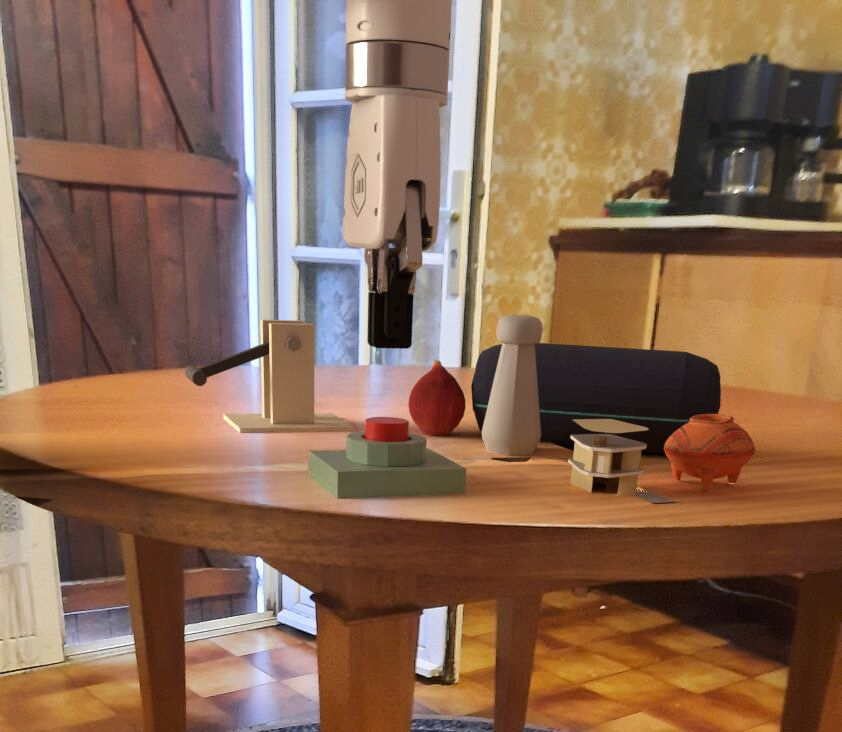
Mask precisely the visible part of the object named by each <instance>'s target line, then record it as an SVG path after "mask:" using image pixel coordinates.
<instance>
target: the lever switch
mask: <svg viewBox="0 0 842 732" xmlns="http://www.w3.org/2000/svg"><path fill="white" fill-rule="evenodd" d="M266 355H269V342H266V343H264V344H261V343H260V344H259V345H255V346H253V347H251V348H248V349H245V350H242V351H239V352H237V353H234V354H231V355H229V356H226V357H224V358H220V359H218V360H216V361H213V362H211V363H210V362H209V363H207V364H205V365H202V366H199V367H197V366H196V365H194V364H188V365H187V366H186V367H185V369H184V376H185V377H186V378H187V379H188V380H189V381H190V382H192V383H193V384H194V385H195V386H197V387H203V386H205V385H206V384H207V381H208V378H210V377H213V376H215V375H218V374H221V373H223V372H226V371H229V370H231V369H234V368H236V367H239V366H242V365H244V364H247V363H250V362H252V361H255V360H258V359H261V357H263V356H266Z"/></svg>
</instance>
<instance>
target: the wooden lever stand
mask: <svg viewBox="0 0 842 732" xmlns="http://www.w3.org/2000/svg"><path fill="white" fill-rule="evenodd" d="M259 321H260V345H261V344H264V343H266V342H269V355H266V356H263V357H261V358H260V360H261V361H260V363H261V366H260V367H261V410H262V411H261V413H223V420H224V421H226V422H227V424H229V425H230V426H232V428H233V429H235V430H236V431H237V432H238V433H240V434H251V433H252V434H253V433H256V434H258V433H266V434H267V433H323V432H324V433H325V432H326V433H328V432H333V433H334V432H335V433H336V432H337V433H338V432H356V426H354V425H353V424H351V423H349V422H347V420H344V419H342V418H341V417H339V416H337V415H336V414H334V413H332V412H331V413H330V412H319V413H318V412H316V413H315V324H314V323H305V321H304V320H297V319H296V320H295V319H293V320H291V319H290V320H289V319H260V320H259Z"/></svg>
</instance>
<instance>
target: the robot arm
mask: <svg viewBox="0 0 842 732" xmlns="http://www.w3.org/2000/svg"><path fill="white" fill-rule="evenodd" d="M452 4H453V0H345V46H346V47H345V88H344V89H345V91H344V100H345V101H346V102H349V103H351V111H350V117H349V126H348V134H347V144H346V158H345V175H344V176H345V177H344V193H343V194H344V197H343V217H342V218H343V219H342V220H343V221H342V237H343V240H344V242H345V243H346V245H348V246H349V247H350V248H357V249H364V252H363V253H364V255H363V256H364V262H365V263H366V265H367V289H368V293H367V294H368V297H367V338H366V339H367V340H366V341H367V344H368V346H370V347H373V348H375V349H399V350H400V349H410V348H411V347H412V345H413V320H414V318H413V317H414V294H415V290H416V281H417V280H416V278H417V271H418V270H419V269H421V268H422V266H423V252H426V251H428V250H429V249H431V248H432V247H433V245H435V244H436V242H437V237H438V231H439V221H440V208H441V207H440V205H441V156H442V155H441V153H442V152H441V115H440V114H441V113H440V108H444V107H446V106H448V96H449V95H448V93H449V92H448V91H449V71H450V70H449V69H450V50H451V49H450V48H451V32H452V31H451V30H452V7H453V6H452ZM390 245H392V247H390Z"/></svg>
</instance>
